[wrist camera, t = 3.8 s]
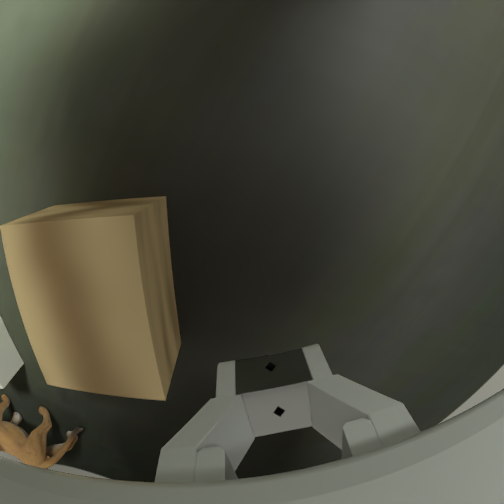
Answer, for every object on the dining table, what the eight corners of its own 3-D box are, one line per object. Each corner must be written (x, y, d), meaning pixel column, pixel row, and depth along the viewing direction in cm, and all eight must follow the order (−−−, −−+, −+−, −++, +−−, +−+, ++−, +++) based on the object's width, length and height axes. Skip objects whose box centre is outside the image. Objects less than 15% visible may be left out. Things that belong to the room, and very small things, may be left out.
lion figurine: (4, 420, 24) (-26, 466, 16) (-17, 387, 23) (-53, 434, 14) (95, 439, 24) (69, 506, 16) (73, 404, 23) (37, 474, 14)
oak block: (166, 195, 18) (134, 215, 12) (181, 341, 21) (165, 400, 15) (56, 204, 18) (0, 226, 12) (82, 336, 21) (47, 384, 15)
